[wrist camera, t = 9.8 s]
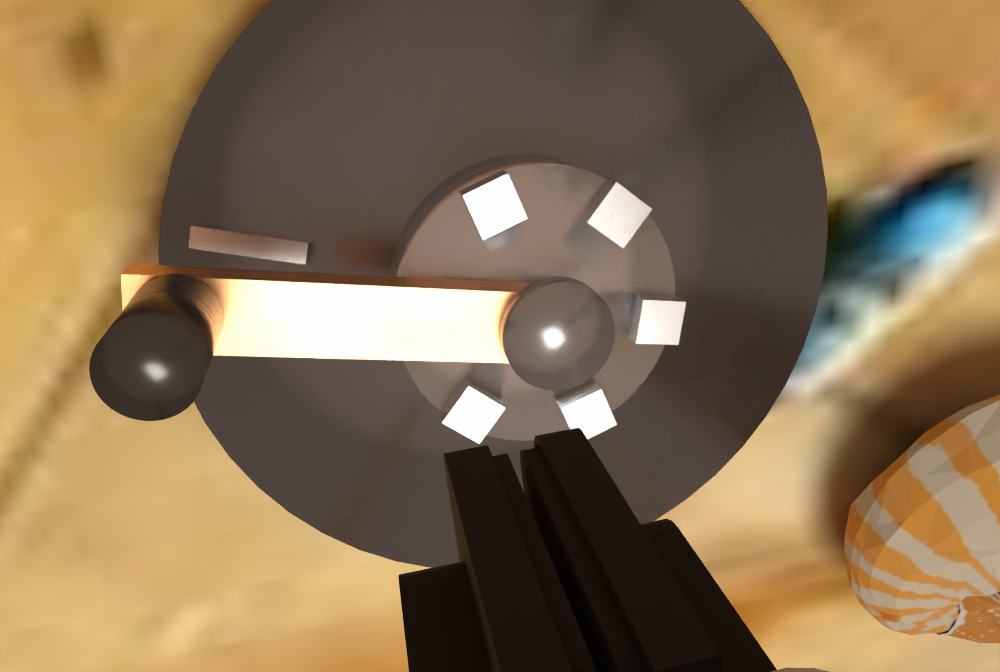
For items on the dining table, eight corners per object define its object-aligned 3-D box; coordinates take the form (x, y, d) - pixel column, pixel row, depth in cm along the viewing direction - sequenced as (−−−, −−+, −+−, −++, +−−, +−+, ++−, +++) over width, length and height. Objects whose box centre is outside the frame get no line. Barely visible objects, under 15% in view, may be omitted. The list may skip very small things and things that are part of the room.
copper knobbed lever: (664, 164, 31) (798, 214, 22) (624, 408, 34) (726, 535, 25) (151, 121, 27) (66, 160, 18) (160, 401, 30) (92, 549, 21)
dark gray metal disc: (820, -123, 30) (841, -130, 28) (804, 490, 39) (820, 504, 38) (72, -47, 26) (59, -52, 25) (252, 610, 35) (249, 630, 34)
